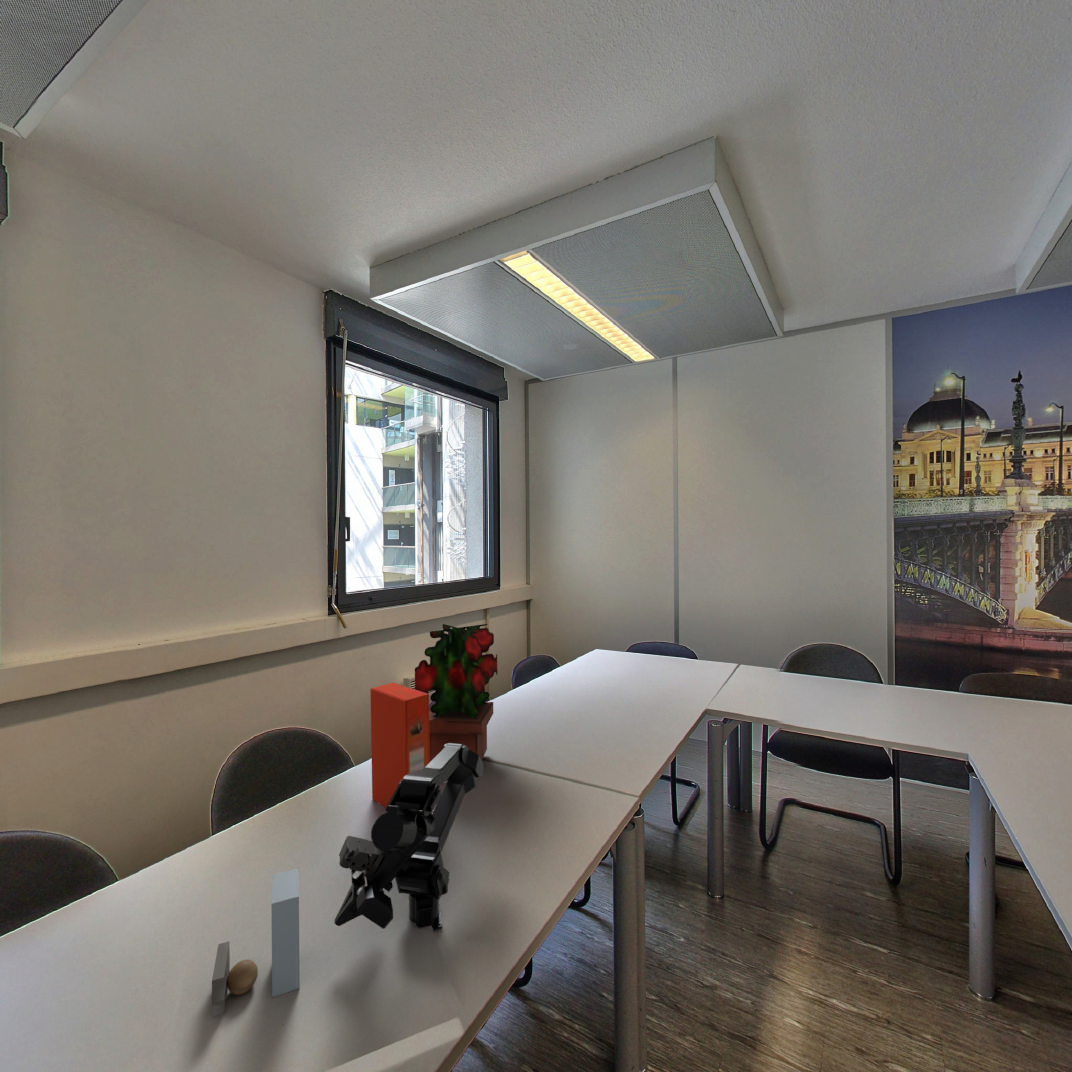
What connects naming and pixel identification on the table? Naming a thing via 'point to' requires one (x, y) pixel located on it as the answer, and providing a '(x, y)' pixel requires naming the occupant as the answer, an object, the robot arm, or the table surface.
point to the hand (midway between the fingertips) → (336, 923)
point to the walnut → (242, 977)
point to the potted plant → (458, 687)
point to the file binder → (397, 737)
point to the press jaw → (285, 932)
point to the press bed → (220, 979)
